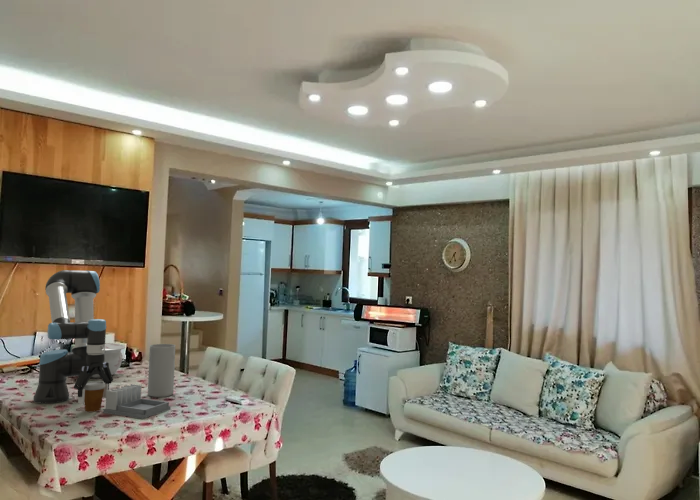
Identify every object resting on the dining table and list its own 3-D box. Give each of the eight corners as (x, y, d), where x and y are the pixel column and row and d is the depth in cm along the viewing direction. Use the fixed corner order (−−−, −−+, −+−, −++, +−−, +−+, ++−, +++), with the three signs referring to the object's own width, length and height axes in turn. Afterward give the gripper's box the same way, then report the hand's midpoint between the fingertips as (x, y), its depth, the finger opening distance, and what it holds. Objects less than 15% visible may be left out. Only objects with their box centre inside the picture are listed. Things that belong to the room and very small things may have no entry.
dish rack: (170, 409, 250) (171, 388, 251) (142, 418, 233) (143, 396, 234) (132, 403, 258) (133, 383, 258) (103, 412, 241) (104, 391, 242)
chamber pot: (111, 381, 305) (113, 344, 306) (63, 379, 306) (65, 342, 306) (132, 371, 333) (133, 338, 334) (87, 370, 334) (89, 336, 334)
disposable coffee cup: (95, 413, 239) (96, 386, 239) (76, 411, 241) (77, 384, 241) (108, 408, 248) (110, 382, 249) (90, 406, 250) (91, 380, 251)
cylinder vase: (143, 394, 278) (145, 345, 279) (165, 390, 287) (167, 343, 288) (154, 398, 269) (157, 348, 270) (177, 394, 278) (180, 346, 279)
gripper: (79, 358, 233) (77, 407, 232) (122, 350, 256) (120, 396, 255) (66, 356, 235) (63, 405, 234) (110, 349, 259) (108, 394, 258)
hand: (93, 401), depth 245 cm, fingers open, 13 cm apart
